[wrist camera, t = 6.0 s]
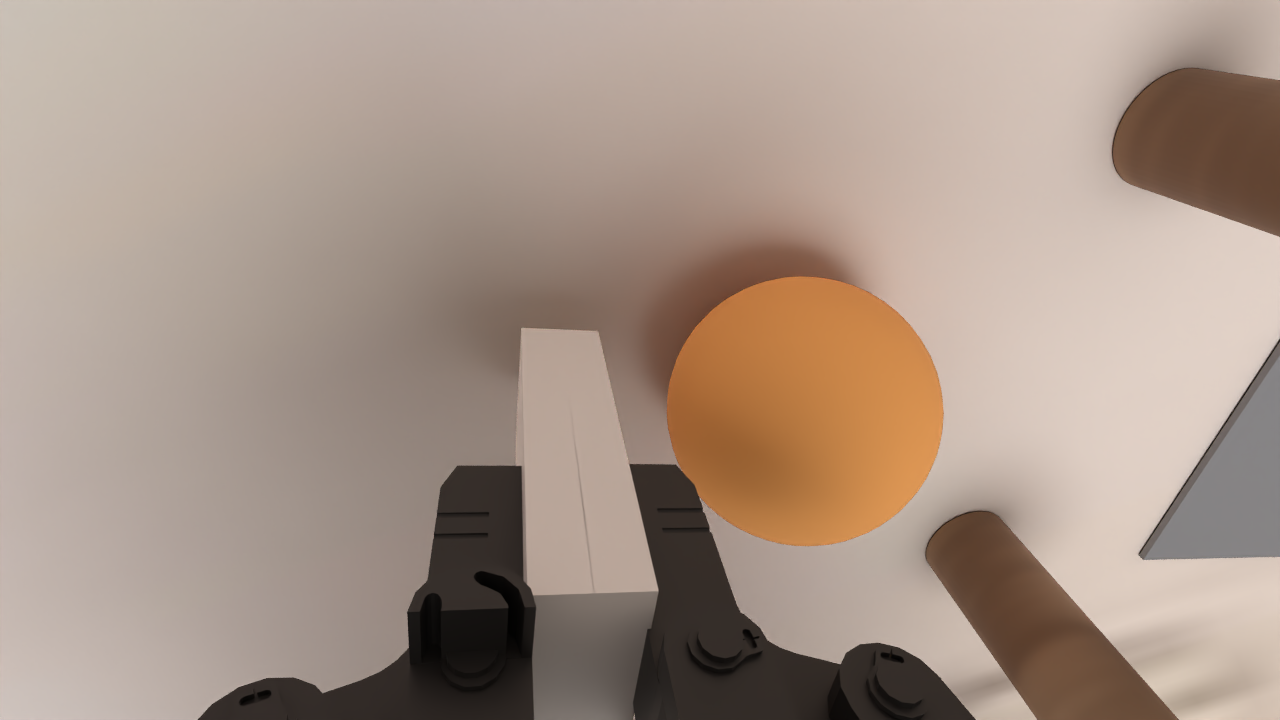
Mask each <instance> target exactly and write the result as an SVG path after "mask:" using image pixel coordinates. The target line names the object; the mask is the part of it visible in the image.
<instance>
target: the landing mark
mask: <svg viewBox="0 0 1280 720" xmlns="http://www.w3.org/2000/svg"><path fill="white" fill-rule="evenodd" d="M1139 556H1140V557H1141V558H1142V559H1143V560H1157V559H1200V558H1243V557H1280V342H1279V344H1278V345H1277V347H1276V348H1275V350H1274V351H1273V353H1272V354H1271V356H1270V357H1269V359H1268V360H1267V362H1266V363H1265V365H1264V367H1263V368H1262V370H1261V371H1260V373H1259V374H1258V376H1257V377H1256V379H1255V380H1254V382H1253V383H1252V385H1251V386H1250V388H1249V389H1248V391H1247V392H1246V394H1245V395H1244V397H1243V398H1242V400H1241V401H1240V403H1239V404H1238V406H1237V407H1236V409H1235V410H1234V412H1233V413H1232V415H1231V417H1230V418H1229V420H1228V421H1227V423H1226V424H1225V426H1224V427H1223V429H1222V430H1221V432H1220V433H1219V435H1218V436H1217V438H1216V439H1215V441H1214V442H1213V444H1212V445H1211V447H1210V448H1209V450H1208V451H1207V453H1206V454H1205V456H1204V457H1203V459H1202V460H1201V462H1200V463H1199V465H1198V467H1197V468H1196V470H1195V471H1194V473H1193V474H1192V476H1191V477H1190V479H1189V480H1188V482H1187V483H1186V485H1185V486H1184V488H1183V489H1182V491H1181V492H1180V494H1179V495H1178V497H1177V498H1176V500H1175V501H1174V503H1173V504H1172V506H1171V507H1170V509H1169V510H1168V512H1167V513H1166V515H1165V517H1164V518H1163V520H1162V521H1161V523H1160V524H1159V526H1158V527H1157V529H1156V530H1155V532H1154V533H1153V535H1152V536H1151V538H1150V539H1149V541H1148V542H1147V544H1146V545H1145V547H1144V548H1143V550H1142V551H1141V553H1140V554H1139Z"/></svg>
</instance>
